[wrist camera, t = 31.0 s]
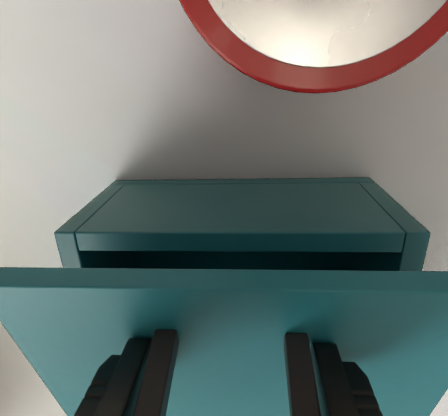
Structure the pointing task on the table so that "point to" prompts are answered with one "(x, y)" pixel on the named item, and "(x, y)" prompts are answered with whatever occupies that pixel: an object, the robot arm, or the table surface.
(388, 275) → the cool box lid
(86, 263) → the cool box
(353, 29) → the can
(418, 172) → the table surface
